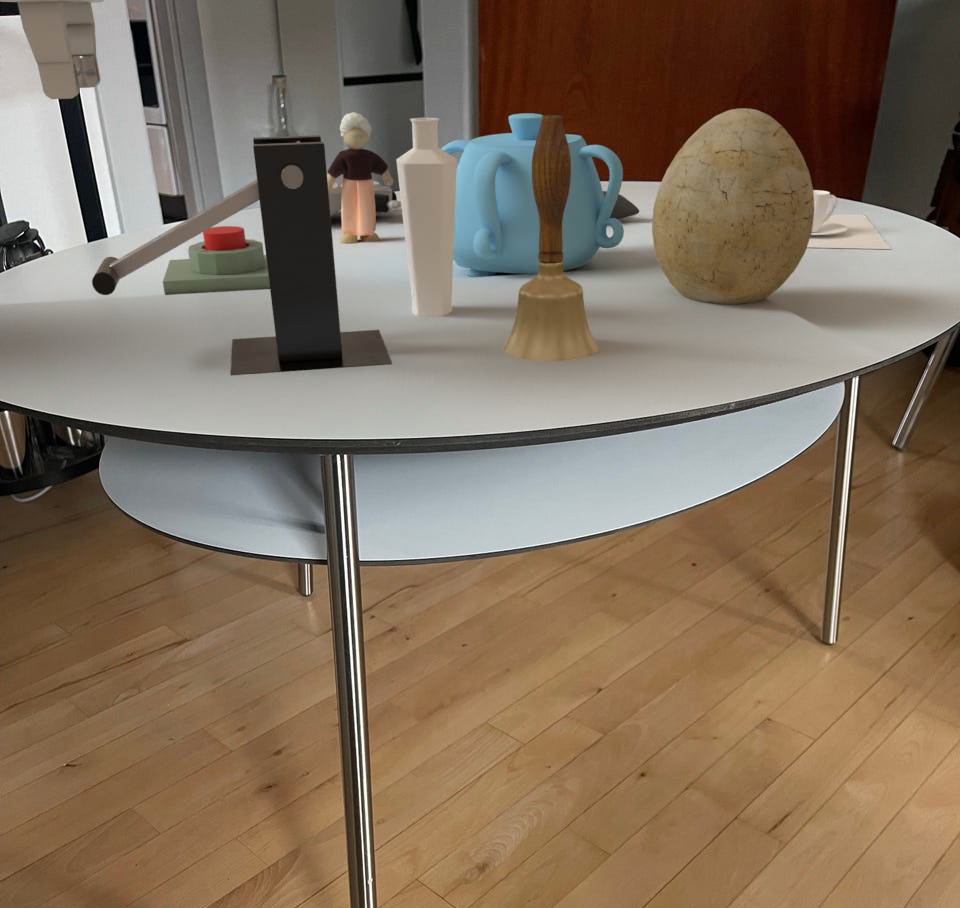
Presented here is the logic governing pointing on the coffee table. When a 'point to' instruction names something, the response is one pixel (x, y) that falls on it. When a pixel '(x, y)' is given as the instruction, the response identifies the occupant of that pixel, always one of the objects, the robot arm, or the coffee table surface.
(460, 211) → the decorative pot
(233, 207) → the lever
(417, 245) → the white faceted vase
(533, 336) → the hand bell
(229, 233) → the button
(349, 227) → the grandmother figurine
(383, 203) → the robot toy
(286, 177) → the bracket
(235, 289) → the control block
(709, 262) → the fossilized egg
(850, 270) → the coffee table surface
